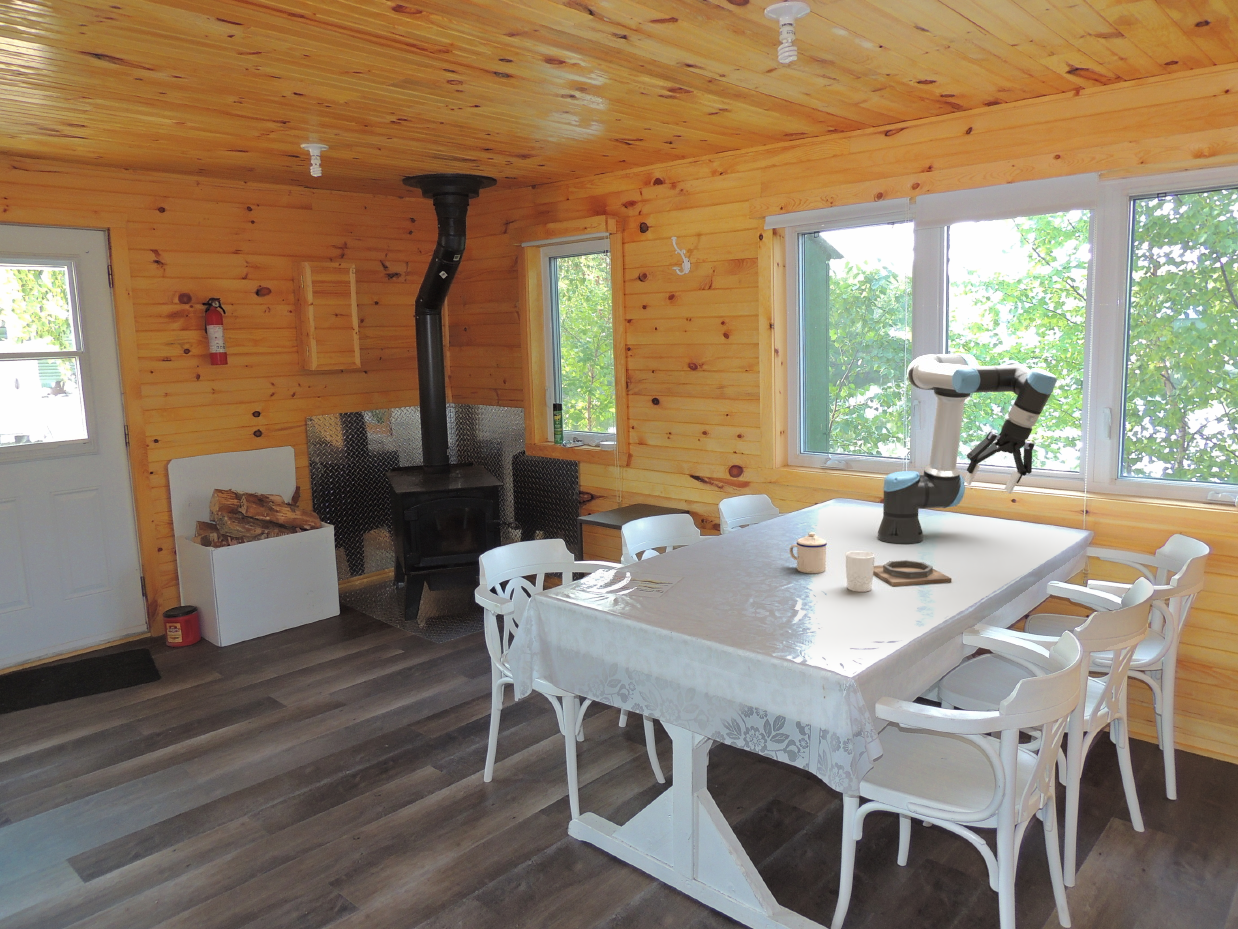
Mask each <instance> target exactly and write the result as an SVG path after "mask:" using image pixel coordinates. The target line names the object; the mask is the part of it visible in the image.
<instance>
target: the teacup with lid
mask: <svg viewBox="0 0 1238 929" xmlns="http://www.w3.org/2000/svg"><path fill="white" fill-rule="evenodd" d="M827 545H828V543H827V540H825V539H823V538H821V537H819V536H817V535H816V533H815V532H809V533H808V535H806V536H804V537H802V538H798V539H797V540H796V544H791V545H790V547H789V554H790V557H791V558H792V559H793V560H795V561H796V569H797V571H798V572H801V573H804V574H820V573H825V571H826V568H827V567H826V566H827V564H826V562H827ZM794 548H796V556H795V553H794V551H793V549H794Z"/></svg>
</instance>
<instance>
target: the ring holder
mask: <svg viewBox="0 0 1238 929" xmlns="http://www.w3.org/2000/svg"><path fill="white" fill-rule="evenodd" d="M873 576H875V577H877V578H879V579H880V580H882V581H883V580H884V581H883V582H885V583H887V584H888V583H889V584H888V585H889V586H891V585H892V587H899V586H903V585H904V586H913V585H912V584H918V585H926V584H925V583H933V584H943V582H948V583H952V582H953V581H952V579H953V578H952V577H951V576H948V575H946V574H944V573H942V572H940V571H939V570H937V569H935V568H933V566H932V565H930V564H928V563H926V562H923V561H917V560H915V561H914V560H908V559H905V560H902V559H901V560H889V561H888V562H886V563H884V564H879V565H874V571H873ZM904 586H903V587H904Z"/></svg>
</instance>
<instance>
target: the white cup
mask: <svg viewBox="0 0 1238 929" xmlns="http://www.w3.org/2000/svg"><path fill="white" fill-rule="evenodd" d="M874 566H875V554H874V553H872V552H869V551H862V550H853V551H847V552H846V553H845V574H846V584H847V585H846V588H847V589H848V590H849V591H851V592H857V593H862V592H863V593H865V592H869V591H871V590H872V589H873V578H874V574H873V571H874Z"/></svg>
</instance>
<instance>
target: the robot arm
mask: <svg viewBox="0 0 1238 929" xmlns="http://www.w3.org/2000/svg"><path fill="white" fill-rule="evenodd" d="M906 373H907V379H908V382H909V383H910V384H911V385H912V386H913V387H915V388H917V389H920V390H924V391H927V390H928V391H933V395H935V397H936V398H937V400H936V401H937V402H936V408H935V418H934V424H933V425H934V426H933V434H932V440H931V441H932V443H931V449H930V456H929V457H930V458H929V464H928V465H926V466H925V467H924V469H923V470H924V471H923V474H920V472H918V471H915V470H903V471H896V472H895V471H894V472H891V473H889V474H888V475H886V476H885V478H884V481H883V488H882V489H883V508H882V509H883V512H882V513H883V516H882V519H881V521H880V524H879V527H878V529H877V539H878V540H880V541H882V542H886V543H891V544H901V545H902V544H906V545H907V544H908V545H909V544H917V543H921V542H923V541H924V532H923V528H922V526H921V523H920V519H919V511H920V510H923V509H924V510H925V509H946V508H954V507H957V506H958V505H959V504H960V503H962V501H963V498H964V496H965V494H966V493H965V492H966V485H965V483H966V484H967V485H969V486H971V485H972V483H973V481H974V479H975V476H976V475H977V472H978V470H979V468H980V466H981V462H983V461H985V460H986V459H988V458H990V457H991V456H993V455H995V454H997V453H1000V452H1002V453H1008V454H1012V456H1013V460H1014V463H1015V467H1016V469H1014V470H1012V473H1011V475H1010V476H1009V478H1008V481H1007V483H1006V484H1005V487H1004V488H1003V489H1004V491H1006V492H1007V493H1008V494H1010V495H1011V494H1012V492H1013V490H1014V488H1015V487H1016V485H1017V484H1019V483H1020V482H1021V479H1022V478H1023V476H1024V477H1025V476H1027V475H1030V474H1032V471H1033V469H1032V468H1033V467H1032V466H1033V450H1034V447H1035V443H1034V442H1033V441H1031V440H1029V437H1030V435H1031V434H1032V431H1033V427H1035V426H1036V424H1037V422H1038V420H1039V418H1040V416H1041V413H1042V411H1043V410H1044V408H1045V406H1046V404H1047V403H1048V402H1049V401H1048V400H1049V399H1050V397H1051V396H1052V393H1053V392H1054V388H1055V386H1056V384H1057V381H1058V378H1057V376H1055V375H1054V374H1053V373H1051V372H1049V371H1047V370H1045V369H1042V368H1037V367H1034V368H1033V367H1032V368H1031V369H1029V368H1028V367H1027V366H1025V365H1024V364H1023V363H1020V362H1019V361H1015V360H1007V361H1005V362H1004V363H1002V364H1001V365H991V366H990V365H988V366H987V365H986V366H984V365H983V366H982V365H981V366H980V365H979V363H978V360H976V357H974V356H973V355H971V354H969V353H946V354H945V353H944V354H925V355H922V356H921V355H920V356H918V357H917V358H916V359H914V360H913V361H912V362H911V363H910V364H909V365H908V368H907V372H906ZM1007 392H1008V393H1009V392H1011V393H1013V394H1015V395H1017V396H1016V399H1015V400H1014V403H1013V404H1012V406H1011V408H1010V410H1009V412H1008V413H1007V417H1006V418H1005V421H1004V422H1003V425H1002V427H1001V431H1000V433H999V434H997V433H994V432H993V431H992V430H991V431H989V432H987V435H986V437H985V438H983V440H981V441H980V442H979V443H978V444H977V445H976V446H975V447H974V448H973V449H971V450H970V452H968V453H967V454H966V458H967V459H968V460H969V461H970V463H968V464H969V465H968V466H967V468H966V471H967V473H966V475H965V477H963V476H962V474H960V472H961V471H960V470H959V469H958V468H957V461H958V453H959V445H960V440H961V439H960V438H961V431H962V424H963V415H964V408H965V401H966V400H968V399H969V398H970V397H971V394H975V393H977V394H978V393H1007ZM1021 448H1023V459H1022V452H1021Z"/></svg>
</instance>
